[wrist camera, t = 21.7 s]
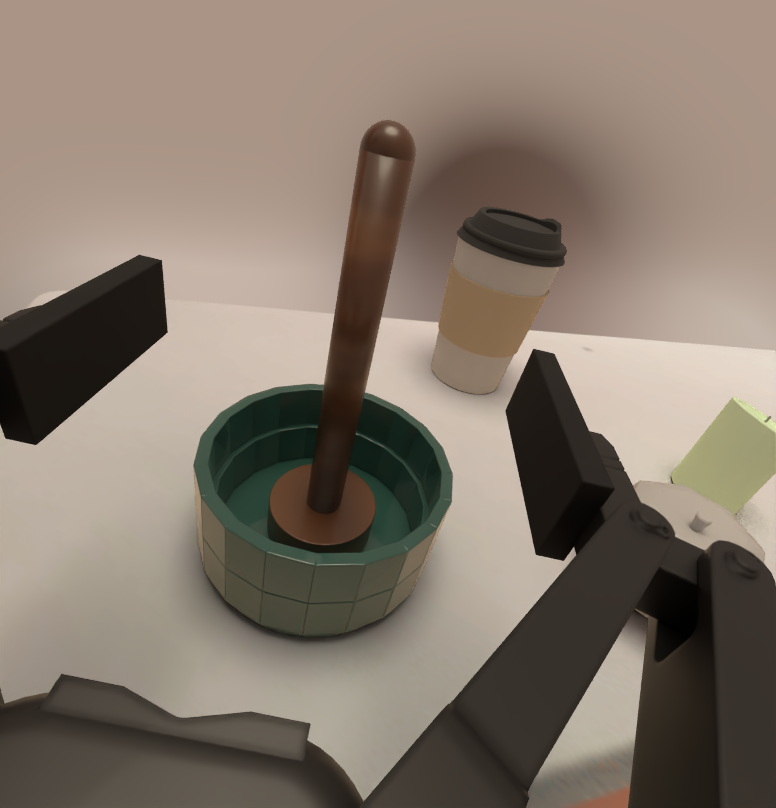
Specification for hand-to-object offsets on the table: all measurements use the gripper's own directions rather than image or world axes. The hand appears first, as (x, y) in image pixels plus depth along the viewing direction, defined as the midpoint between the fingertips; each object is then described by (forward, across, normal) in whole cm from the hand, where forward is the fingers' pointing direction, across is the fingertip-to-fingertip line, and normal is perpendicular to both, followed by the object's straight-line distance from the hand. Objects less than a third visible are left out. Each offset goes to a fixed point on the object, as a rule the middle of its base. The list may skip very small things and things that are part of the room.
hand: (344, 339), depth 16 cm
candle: (+14, +29, -14) cm, 35 cm away
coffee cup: (+24, +10, -14) cm, 29 cm away
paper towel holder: (+2, 0, -13) cm, 13 cm away
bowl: (+2, 0, -13) cm, 14 cm away
